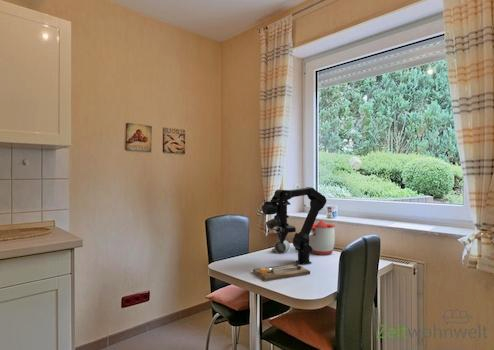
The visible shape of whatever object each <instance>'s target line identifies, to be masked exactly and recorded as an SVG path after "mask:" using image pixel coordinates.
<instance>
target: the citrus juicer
mask: <svg viewBox="0 0 494 350" xmlns="http://www.w3.org/2000/svg"><path fill="white" fill-rule="evenodd" d="M335 234H336V233H335V225H334V224H332V223H326V222H325V221H324V220H320V221H319V222H318V223H316V222H314V224H313V227H312V229H311V232H310V234H309V245H310V246H311V247H312V252H311V253H313V254H317V255H320V256H323V255H325V256H326V255H331V254H332V253H333V251H334V247H335V239H336V237H335Z"/></svg>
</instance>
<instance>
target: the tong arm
mask: <svg viewBox="0 0 494 350" xmlns="http://www.w3.org/2000/svg"><path fill="white" fill-rule="evenodd" d="M298 265H299V264H296V263H295V265H289V266H282V267H275V268H266V269H267V273H271V272H273V269H279V268H286V267H294V266H298Z"/></svg>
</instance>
